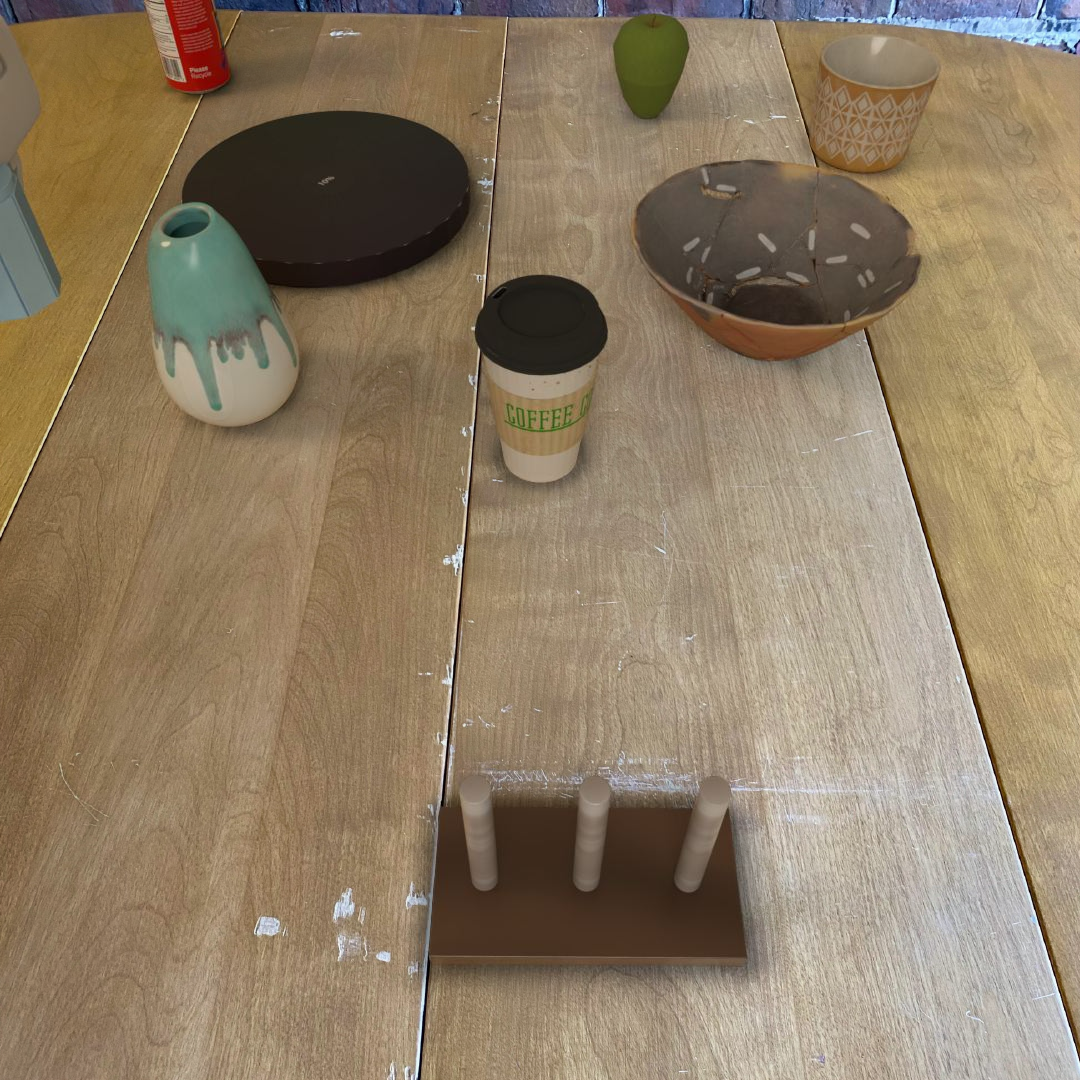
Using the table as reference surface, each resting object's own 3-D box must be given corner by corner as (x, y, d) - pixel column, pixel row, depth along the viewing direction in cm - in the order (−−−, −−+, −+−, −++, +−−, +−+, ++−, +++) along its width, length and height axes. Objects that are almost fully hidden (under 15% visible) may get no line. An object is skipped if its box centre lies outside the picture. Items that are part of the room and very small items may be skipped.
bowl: (593, 267, 100) (598, 176, 92) (819, 232, 104) (842, 142, 96) (677, 438, 84) (691, 346, 77) (939, 389, 88) (977, 297, 80)
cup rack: (743, 966, 57) (789, 880, 46) (430, 964, 57) (406, 877, 47) (725, 818, 63) (763, 711, 52) (441, 816, 63) (422, 709, 52)
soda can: (162, 99, 121) (122, -33, 110) (176, 69, 126) (140, -61, 115) (226, 99, 121) (193, -34, 110) (238, 69, 126) (208, -61, 115)
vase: (176, 456, 83) (104, 276, 69) (171, 367, 90) (104, 188, 76) (315, 430, 85) (272, 250, 71) (299, 346, 92) (257, 167, 78)
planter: (816, 114, 119) (836, 24, 111) (922, 137, 116) (950, 46, 108) (787, 165, 112) (807, 72, 104) (899, 190, 109) (928, 97, 101)
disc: (293, 112, 119) (289, 87, 117) (517, 169, 111) (516, 143, 109) (129, 242, 102) (119, 216, 100) (379, 321, 94) (375, 295, 92)
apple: (673, 94, 123) (683, -5, 114) (688, 128, 117) (701, 27, 108) (604, 98, 122) (609, -1, 113) (616, 133, 116) (623, 32, 108)
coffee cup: (558, 517, 79) (562, 372, 67) (458, 467, 82) (445, 322, 70) (620, 443, 84) (634, 297, 72) (524, 400, 87) (522, 254, 76)
